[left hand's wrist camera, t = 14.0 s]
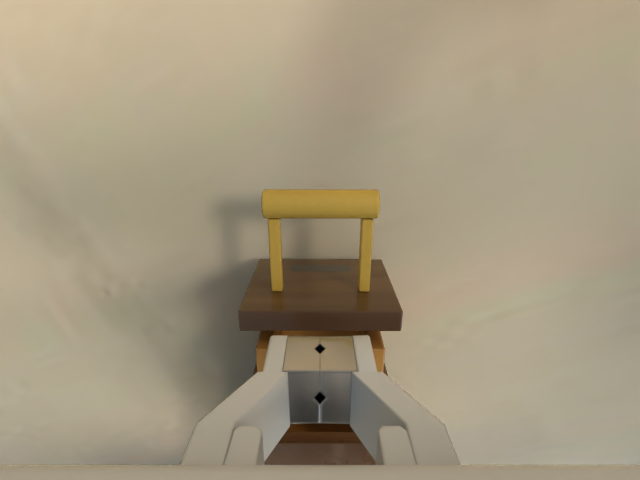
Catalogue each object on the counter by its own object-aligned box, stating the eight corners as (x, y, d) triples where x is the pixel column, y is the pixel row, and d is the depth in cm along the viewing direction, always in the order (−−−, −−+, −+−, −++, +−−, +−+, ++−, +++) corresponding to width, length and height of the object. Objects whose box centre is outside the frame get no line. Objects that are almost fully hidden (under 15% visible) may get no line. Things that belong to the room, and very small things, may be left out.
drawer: (253, 175, 22) (227, 200, 15) (387, 175, 22) (414, 200, 15) (269, 408, 28) (254, 491, 22) (371, 408, 28) (385, 491, 22)
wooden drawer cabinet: (259, 347, 27) (235, 443, 19) (380, 348, 27) (405, 444, 19) (269, 475, 32) (252, 591, 24) (371, 475, 32) (387, 592, 24)
